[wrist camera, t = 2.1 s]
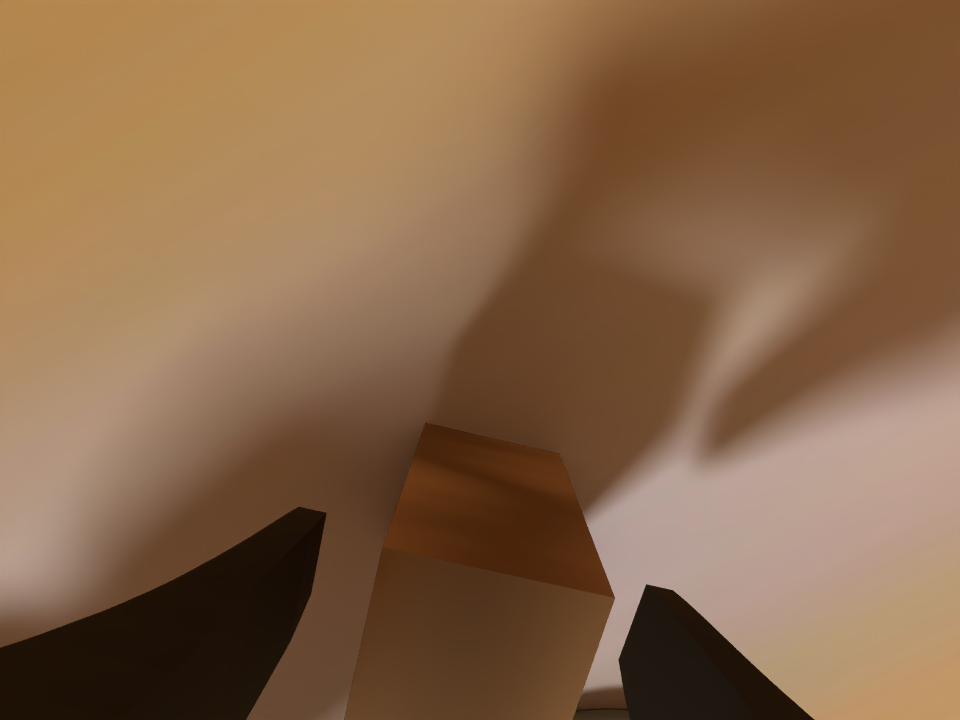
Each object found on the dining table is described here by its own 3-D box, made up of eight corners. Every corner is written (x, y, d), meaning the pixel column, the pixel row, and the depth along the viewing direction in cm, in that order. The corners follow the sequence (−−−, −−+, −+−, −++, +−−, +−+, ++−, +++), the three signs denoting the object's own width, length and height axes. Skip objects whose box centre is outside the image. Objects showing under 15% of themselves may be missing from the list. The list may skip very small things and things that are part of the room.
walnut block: (397, 543, 15) (339, 736, 9) (425, 422, 14) (382, 547, 8) (524, 571, 15) (551, 779, 9) (559, 454, 14) (615, 598, 8)
